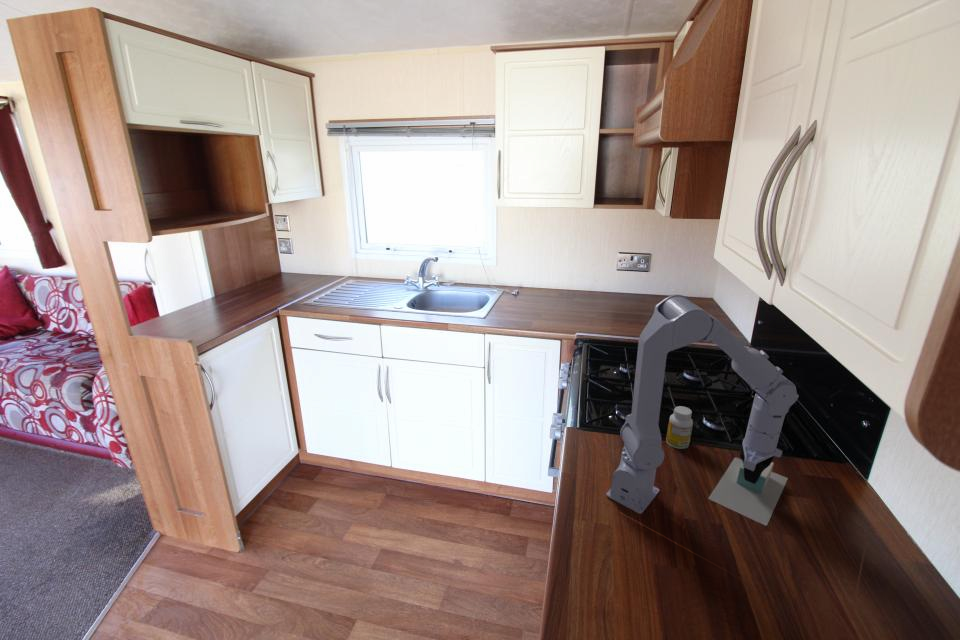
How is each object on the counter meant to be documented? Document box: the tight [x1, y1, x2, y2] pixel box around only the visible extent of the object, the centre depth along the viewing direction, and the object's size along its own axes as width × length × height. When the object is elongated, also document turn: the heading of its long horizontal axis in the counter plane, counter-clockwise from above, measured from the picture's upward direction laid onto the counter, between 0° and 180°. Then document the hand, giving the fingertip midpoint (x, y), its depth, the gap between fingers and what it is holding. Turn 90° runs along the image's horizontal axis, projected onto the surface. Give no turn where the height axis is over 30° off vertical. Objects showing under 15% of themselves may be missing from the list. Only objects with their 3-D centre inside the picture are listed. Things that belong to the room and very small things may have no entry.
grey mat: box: [707, 457, 789, 527], centre depth 100 cm, size 19×11×1 cm, turn 137°
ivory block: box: [736, 461, 774, 494], centre depth 101 cm, size 4×5×7 cm
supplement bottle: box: [665, 405, 694, 450], centre depth 114 cm, size 5×5×10 cm
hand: (750, 480), depth 98 cm, fingers closed
